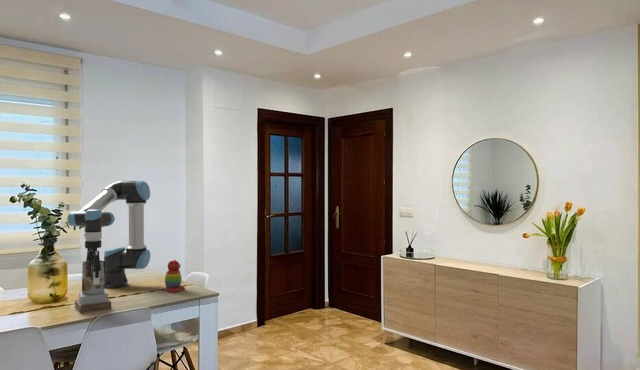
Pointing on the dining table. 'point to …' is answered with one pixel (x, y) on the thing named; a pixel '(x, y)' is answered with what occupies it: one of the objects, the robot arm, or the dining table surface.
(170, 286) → the stacking bear
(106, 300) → the top slab
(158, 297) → the dining table surface
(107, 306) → the base slab
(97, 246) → the robot arm
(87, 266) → the coffee box
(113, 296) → the dining table surface
